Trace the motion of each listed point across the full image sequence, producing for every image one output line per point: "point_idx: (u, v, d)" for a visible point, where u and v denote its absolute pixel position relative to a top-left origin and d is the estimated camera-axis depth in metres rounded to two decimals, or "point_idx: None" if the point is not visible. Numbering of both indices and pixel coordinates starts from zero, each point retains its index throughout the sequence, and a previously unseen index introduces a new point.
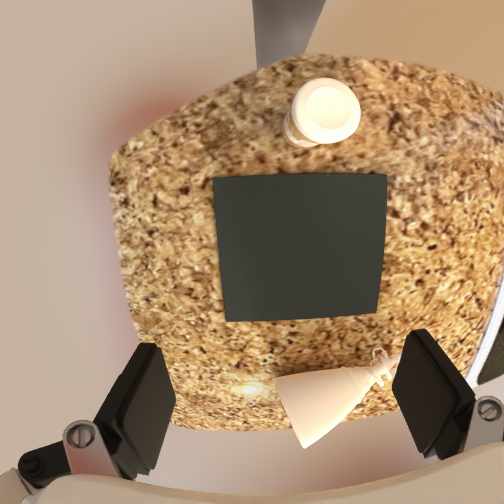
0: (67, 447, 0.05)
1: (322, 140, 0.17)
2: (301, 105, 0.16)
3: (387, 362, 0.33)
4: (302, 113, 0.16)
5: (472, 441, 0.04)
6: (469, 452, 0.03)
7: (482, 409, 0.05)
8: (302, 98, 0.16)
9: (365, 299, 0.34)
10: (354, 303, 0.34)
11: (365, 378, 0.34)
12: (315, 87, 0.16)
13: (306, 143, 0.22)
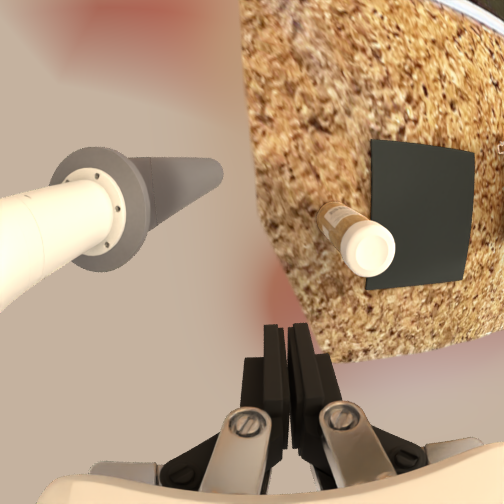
0: (238, 440, 0.06)
1: None
2: (368, 273, 0.22)
3: None
4: (374, 272, 0.22)
5: (343, 460, 0.05)
6: (469, 452, 0.03)
7: (332, 420, 0.06)
8: (363, 272, 0.22)
9: (465, 163, 0.30)
10: (466, 174, 0.31)
11: None
12: (355, 262, 0.22)
13: None
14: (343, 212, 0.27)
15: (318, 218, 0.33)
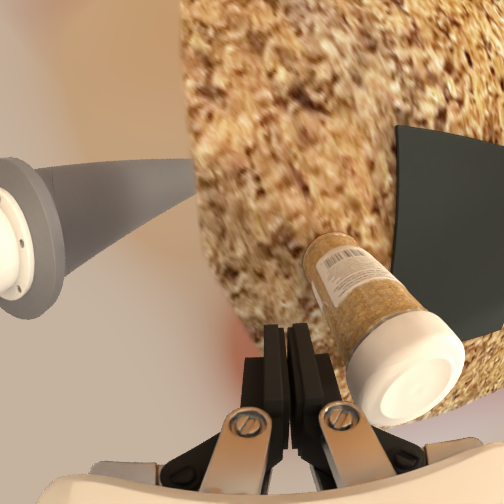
0: (238, 440, 0.06)
1: None
2: (400, 421, 0.08)
3: None
4: (412, 417, 0.08)
5: (343, 460, 0.05)
6: (469, 452, 0.03)
7: (332, 420, 0.06)
8: (390, 422, 0.08)
9: None
10: None
11: None
12: (377, 413, 0.08)
13: None
14: (354, 269, 0.13)
15: (306, 263, 0.19)
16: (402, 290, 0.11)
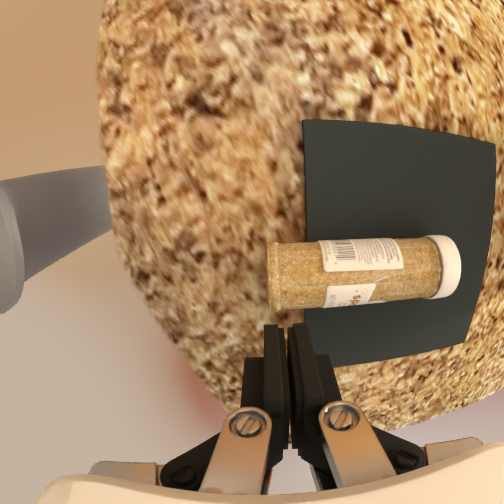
0: (238, 440, 0.06)
1: None
2: None
3: None
4: None
5: (343, 460, 0.05)
6: (469, 452, 0.03)
7: (332, 420, 0.06)
8: None
9: (481, 161, 0.17)
10: (483, 179, 0.17)
11: None
12: None
13: None
14: (375, 244, 0.16)
15: (283, 285, 0.16)
16: None
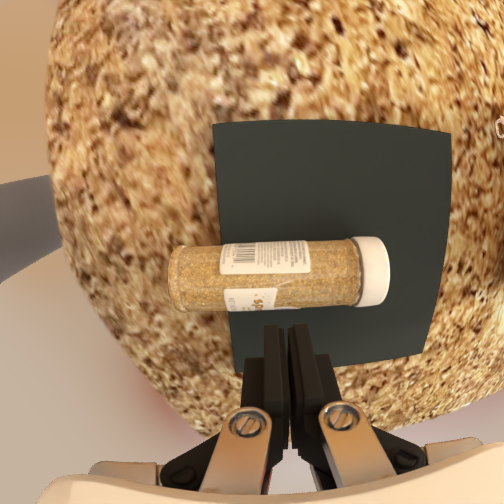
0: (238, 440, 0.06)
1: None
2: None
3: None
4: None
5: (343, 460, 0.05)
6: (469, 452, 0.03)
7: (332, 420, 0.06)
8: None
9: (430, 154, 0.17)
10: (435, 174, 0.17)
11: None
12: None
13: None
14: (281, 247, 0.17)
15: (181, 286, 0.16)
16: None
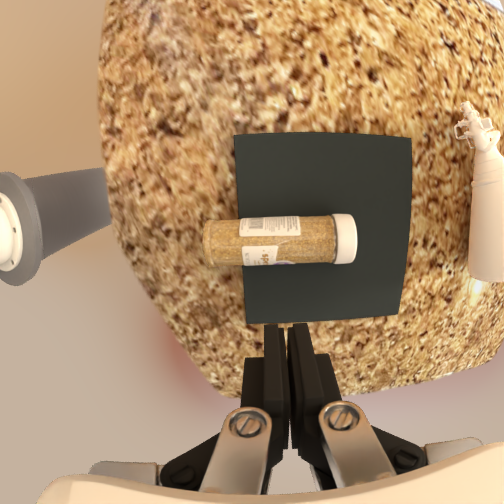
0: (238, 440, 0.06)
1: None
2: None
3: (473, 129, 0.19)
4: None
5: (343, 460, 0.05)
6: (469, 452, 0.03)
7: (332, 420, 0.06)
8: None
9: (393, 154, 0.24)
10: (397, 169, 0.25)
11: (488, 162, 0.20)
12: None
13: None
14: (281, 219, 0.25)
15: (212, 245, 0.24)
16: None
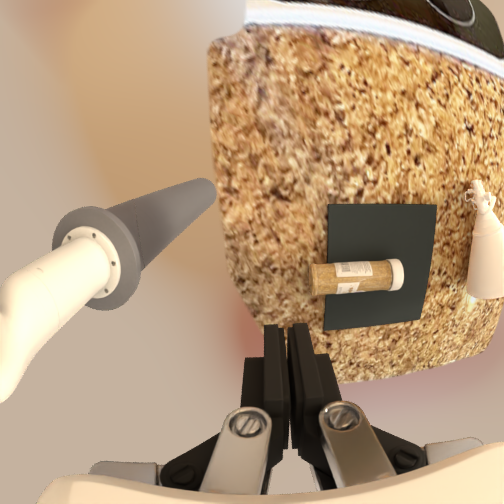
0: (238, 440, 0.06)
1: None
2: None
3: (477, 199, 0.32)
4: None
5: (343, 460, 0.05)
6: (469, 452, 0.03)
7: (332, 420, 0.06)
8: None
9: (425, 217, 0.37)
10: (426, 226, 0.37)
11: (485, 221, 0.32)
12: None
13: None
14: (359, 264, 0.37)
15: (319, 283, 0.36)
16: (373, 261, 0.38)
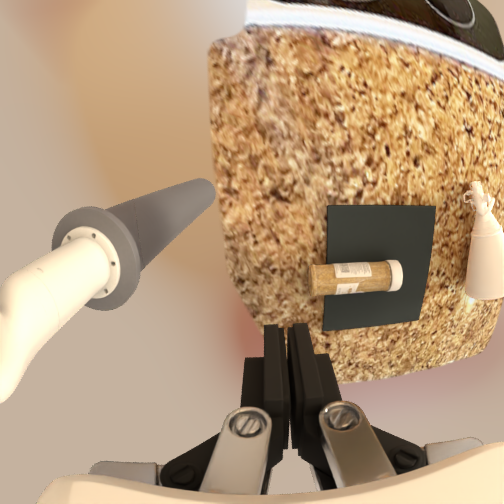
0: (238, 440, 0.06)
1: None
2: None
3: (476, 201, 0.32)
4: None
5: (343, 460, 0.05)
6: (469, 452, 0.03)
7: (332, 420, 0.06)
8: None
9: (424, 218, 0.37)
10: (425, 227, 0.37)
11: (484, 222, 0.32)
12: None
13: None
14: (359, 265, 0.37)
15: (318, 284, 0.36)
16: (372, 262, 0.38)
